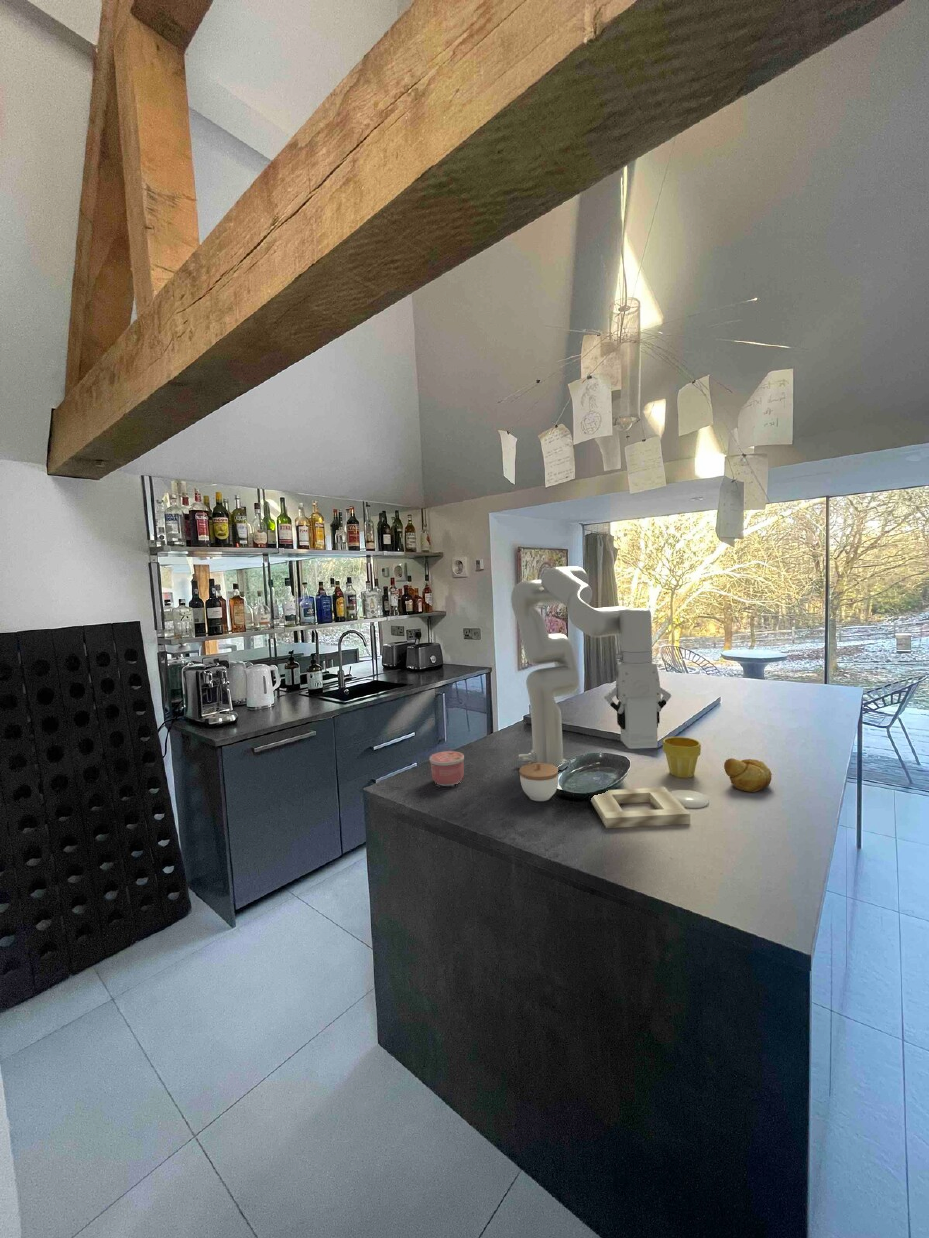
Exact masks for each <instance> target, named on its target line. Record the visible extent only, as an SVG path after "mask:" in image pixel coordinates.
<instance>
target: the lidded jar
mask: <svg viewBox="0 0 929 1238" xmlns="http://www.w3.org/2000/svg"><path fill="white" fill-rule="evenodd" d="M518 771H519V777H520V778H519V780H520V784H521V788H522V790H523V792H524V794H525V795H526V796H527V797H528V798H529V799H530V800H532V801H535V802H546V801H549V800H550V799H551V798H552V796H553V795H554V794H555V793H556V792H557V790H558V786H559V772H558V768H557V767H556V766H554V765H551V764H547V763H531V764H529V763H527V764H524V765H522V766H521V767H520V768H519V770H518Z"/></svg>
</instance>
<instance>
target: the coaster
mask: <svg viewBox="0 0 929 1238" xmlns="http://www.w3.org/2000/svg"><path fill="white" fill-rule="evenodd" d="M669 792H670V793H671V794H672V795H673V797H674V798H675V799H676V800H677V801H678V802H679V803H680V804H681V805H682V806H683V807H684V808H685V809H686V808H687V809H701V808H705V807H707V806H708V805H709V804H710V798H709V797H708V796H707V795H705V794H704V793H701V792H698V791H695V790H689V789H688V790H687V789H677V790H672V791H669Z"/></svg>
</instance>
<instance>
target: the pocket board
mask: <svg viewBox="0 0 929 1238" xmlns="http://www.w3.org/2000/svg"><path fill="white" fill-rule="evenodd" d="M607 790H608V791H606V792H605V793H602V794H598V795H594V796H593V797H592V798H591V800H590V802H591V804H592V806H593V807H594V809H595V811H596V812H597V813H596V814H597V815H598V816H599V818H600V820H601V821H602V823H603V825H604V826H605V829H615V828H617V829H618V828H619V829H620V828H635V827H653V826H656V827H657V826H658V827H659V826H673V825H675V826H676V825H691V812H689V810H687V809H686V808H685V807H683V806H682V805H681V804H680V803H679V802H678V801H677V800H676V799H675V798H674V797H673V795H672V794H671V793H670V792H671V791H669V790H668V789H667V788H666V787H665V786H660V787H643V788H626V789H625V788H623V789H607ZM633 803H634V804H635V803H650V804H651V805H652V806H653V807H654V808H655V809H645V810H643V809H642V810H627V811H626V810H625V811H624V810H623V809H622V808H621V806H620V804H633Z"/></svg>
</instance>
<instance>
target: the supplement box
mask: <svg viewBox="0 0 929 1238" xmlns="http://www.w3.org/2000/svg"><path fill="white" fill-rule="evenodd" d="M623 713H624V714H625V729H622V728H621V727H620V741H621V742H622V743H623V744H624V745H625V746H626V747H627V748H628V749H629V750H630V749H633V750H634V749H653V748H654V749H655V748H656V749H657V748H659V747H658V746H659V745H658V744H659V743H658V741H659V740H658V728H657V703H656V697H637V698H627V699H626V704H625V709H624V711H623Z"/></svg>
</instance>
